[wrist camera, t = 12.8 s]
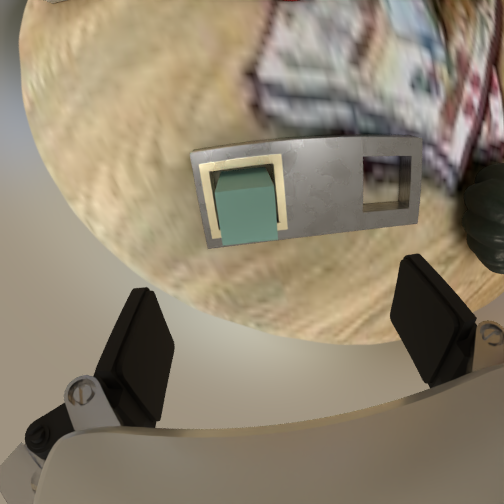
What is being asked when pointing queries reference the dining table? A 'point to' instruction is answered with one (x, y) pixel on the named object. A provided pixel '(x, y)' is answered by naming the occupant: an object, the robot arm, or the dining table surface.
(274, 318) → the dining table surface
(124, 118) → the dining table surface
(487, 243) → the squash
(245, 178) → the peg
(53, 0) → the supplement box
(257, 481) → the robot arm
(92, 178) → the dining table surface
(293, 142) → the grey peg hole board
